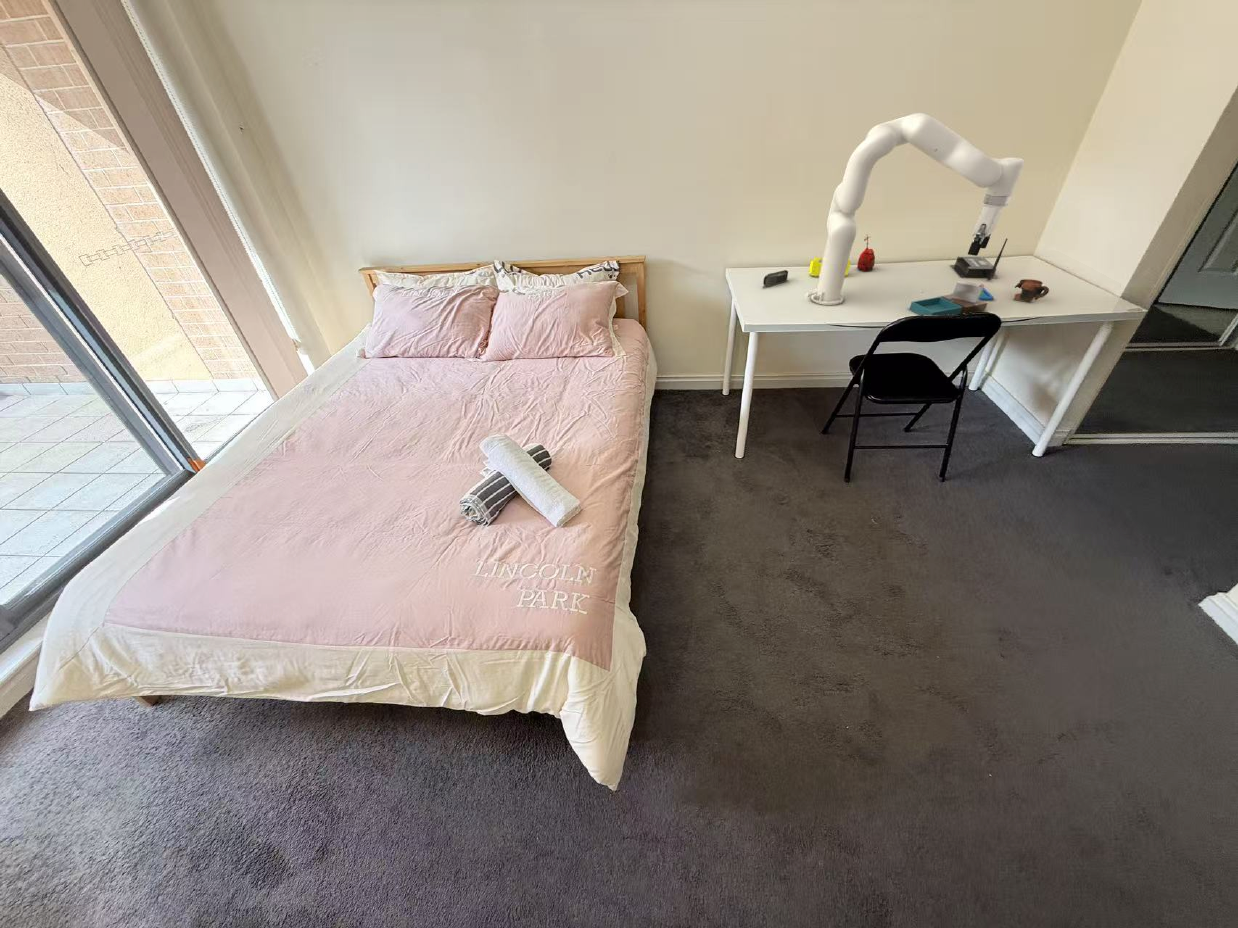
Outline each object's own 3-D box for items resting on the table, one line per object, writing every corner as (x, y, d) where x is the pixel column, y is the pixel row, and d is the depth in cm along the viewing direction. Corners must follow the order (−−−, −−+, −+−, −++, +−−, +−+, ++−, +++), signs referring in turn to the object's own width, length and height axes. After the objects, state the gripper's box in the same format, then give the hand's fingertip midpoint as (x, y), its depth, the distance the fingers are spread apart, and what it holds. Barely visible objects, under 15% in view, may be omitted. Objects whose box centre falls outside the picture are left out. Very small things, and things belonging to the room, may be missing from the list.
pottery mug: (1004, 299, 195) (1013, 277, 193) (1015, 305, 200) (1024, 284, 198) (1039, 300, 185) (1049, 278, 183) (1049, 307, 190) (1059, 285, 188)
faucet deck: (960, 315, 185) (963, 307, 183) (935, 303, 195) (938, 295, 193) (988, 310, 187) (991, 302, 185) (962, 298, 197) (965, 290, 195)
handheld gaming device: (980, 283, 204) (994, 297, 193) (979, 286, 205) (993, 300, 194) (958, 283, 206) (971, 297, 194) (957, 285, 206) (970, 299, 195)
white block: (951, 297, 191) (957, 281, 187) (953, 295, 192) (959, 279, 188) (975, 303, 186) (982, 286, 182) (977, 300, 187) (984, 284, 183)
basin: (930, 320, 184) (932, 312, 182) (909, 309, 192) (911, 301, 190) (959, 314, 186) (962, 307, 184) (937, 304, 194) (940, 296, 192)
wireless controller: (950, 265, 225) (965, 225, 214) (984, 265, 223) (1000, 225, 212) (964, 281, 210) (980, 238, 199) (1000, 281, 208) (1019, 238, 197)
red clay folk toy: (867, 273, 223) (876, 238, 214) (852, 270, 227) (861, 235, 218) (875, 269, 227) (884, 234, 217) (860, 265, 231) (869, 231, 221)
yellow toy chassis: (810, 277, 223) (814, 258, 218) (808, 273, 227) (811, 254, 222) (847, 277, 221) (851, 258, 215) (844, 273, 225) (848, 254, 220)
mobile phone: (785, 268, 220) (761, 275, 214) (790, 270, 218) (766, 277, 212) (783, 279, 224) (759, 287, 217) (788, 281, 222) (764, 288, 215)
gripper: (991, 193, 176) (972, 243, 187) (976, 204, 167) (957, 256, 178) (1015, 196, 172) (995, 247, 183) (1002, 206, 163) (980, 259, 174)
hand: (976, 251), depth 181 cm, fingers open, 9 cm apart
